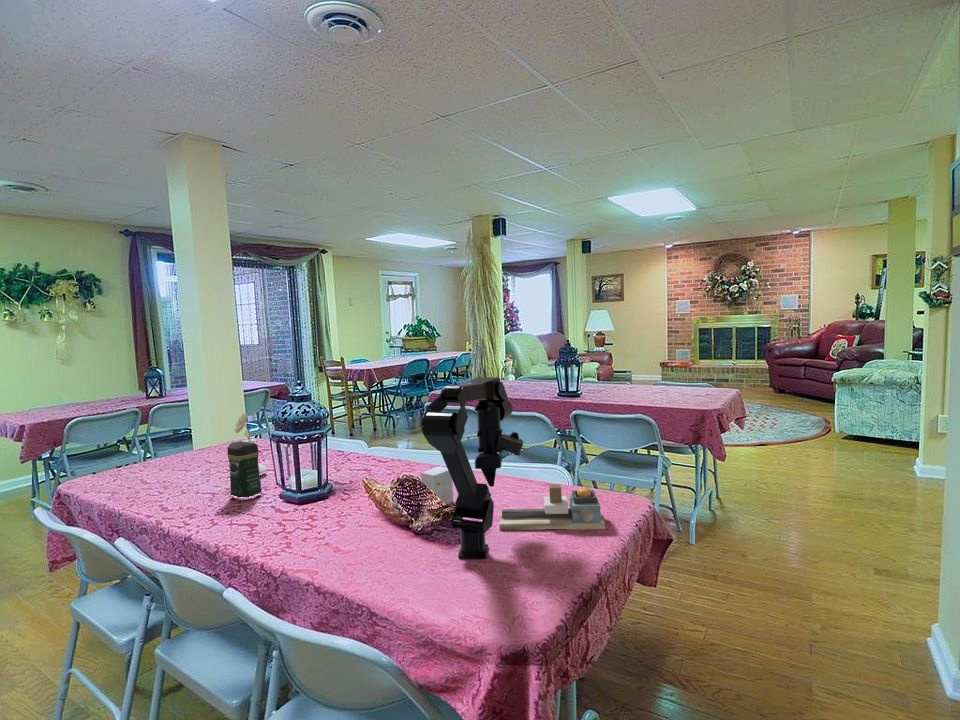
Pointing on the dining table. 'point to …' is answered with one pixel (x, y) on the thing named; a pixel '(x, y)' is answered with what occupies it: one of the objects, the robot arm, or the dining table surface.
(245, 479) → the coffee jar
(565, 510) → the carriage
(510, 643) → the dining table surface
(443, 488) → the small box
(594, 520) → the rail base
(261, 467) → the flower in vase
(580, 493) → the button
